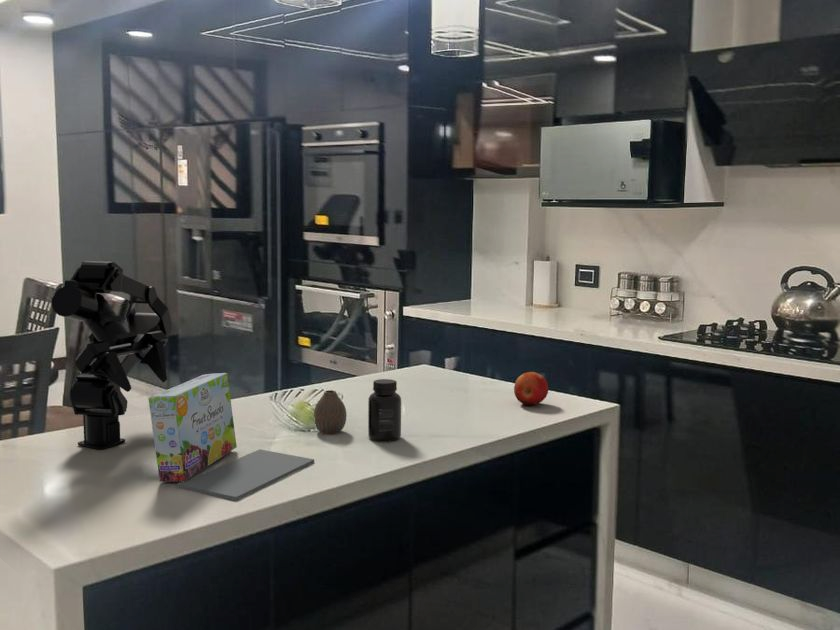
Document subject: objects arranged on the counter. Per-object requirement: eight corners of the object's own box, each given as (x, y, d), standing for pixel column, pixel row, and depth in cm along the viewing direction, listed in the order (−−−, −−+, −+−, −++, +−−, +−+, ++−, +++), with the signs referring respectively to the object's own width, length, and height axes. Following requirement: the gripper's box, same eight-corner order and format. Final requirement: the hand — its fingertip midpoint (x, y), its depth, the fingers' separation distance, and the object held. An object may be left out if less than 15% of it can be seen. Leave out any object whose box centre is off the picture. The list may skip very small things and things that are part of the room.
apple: (551, 403, 207) (553, 372, 206) (537, 410, 200) (539, 377, 199) (522, 399, 211) (523, 367, 210) (507, 405, 204) (508, 373, 203)
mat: (176, 487, 142) (176, 484, 142) (259, 452, 163) (259, 449, 163) (236, 500, 137) (236, 497, 137) (314, 462, 158) (314, 459, 157)
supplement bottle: (406, 436, 176) (407, 379, 175) (391, 444, 170) (392, 386, 169) (377, 431, 179) (378, 376, 178) (361, 439, 173) (362, 382, 171)
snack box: (188, 482, 143) (175, 395, 141) (158, 483, 144) (144, 397, 143) (239, 446, 164) (228, 370, 162) (212, 448, 165) (201, 373, 163)
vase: (332, 438, 173) (333, 396, 172) (306, 433, 177) (306, 392, 176) (352, 431, 179) (353, 390, 178) (327, 425, 183) (327, 386, 182)
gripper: (118, 341, 172) (160, 401, 169) (41, 356, 156) (87, 422, 153) (146, 306, 168) (190, 366, 165) (71, 317, 151) (118, 385, 148)
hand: (147, 385), depth 158 cm, fingers open, 9 cm apart
